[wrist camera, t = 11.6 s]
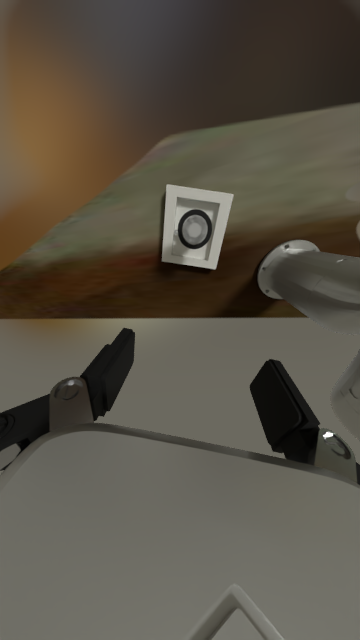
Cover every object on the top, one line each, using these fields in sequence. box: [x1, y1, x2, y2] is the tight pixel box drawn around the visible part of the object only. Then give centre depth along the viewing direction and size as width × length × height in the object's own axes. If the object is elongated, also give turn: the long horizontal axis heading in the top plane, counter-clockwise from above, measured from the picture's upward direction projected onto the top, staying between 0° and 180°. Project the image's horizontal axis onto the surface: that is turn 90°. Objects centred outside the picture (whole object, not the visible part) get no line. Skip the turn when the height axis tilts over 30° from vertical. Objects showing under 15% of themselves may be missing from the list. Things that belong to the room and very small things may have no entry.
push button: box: [174, 209, 212, 249], centre depth 27 cm, size 7×5×10 cm
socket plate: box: [162, 184, 234, 269], centre depth 31 cm, size 12×13×2 cm
